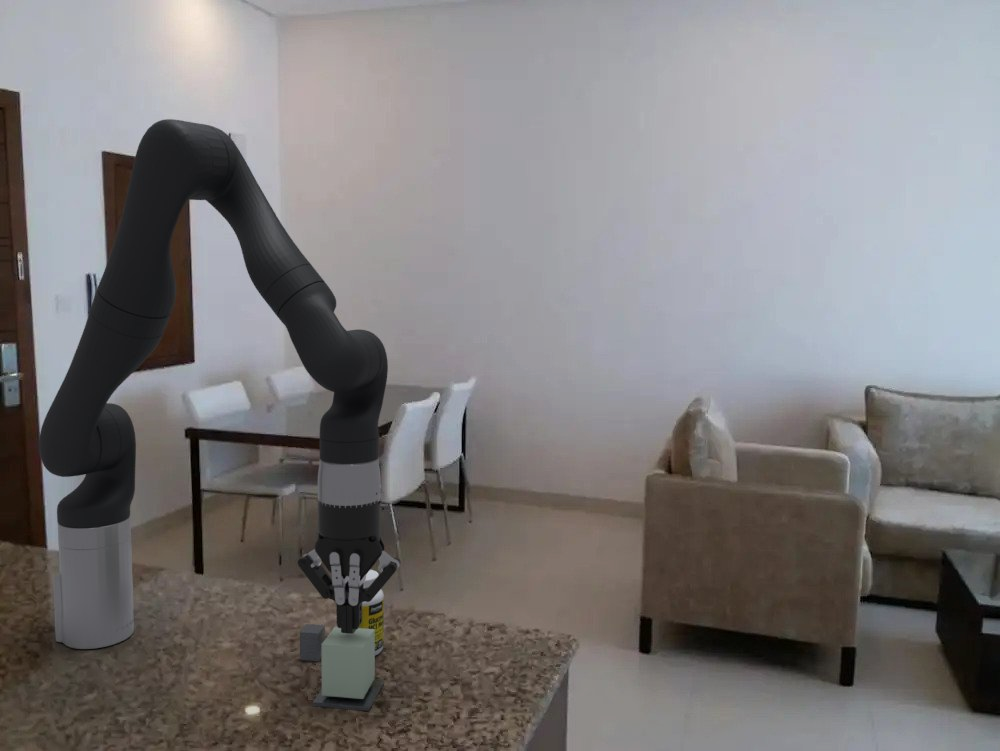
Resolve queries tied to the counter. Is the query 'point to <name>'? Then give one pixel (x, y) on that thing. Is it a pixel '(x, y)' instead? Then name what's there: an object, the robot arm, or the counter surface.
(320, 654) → the short post
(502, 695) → the counter surface
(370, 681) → the pale green block
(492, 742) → the counter surface
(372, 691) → the post on square base
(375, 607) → the pill bottle
